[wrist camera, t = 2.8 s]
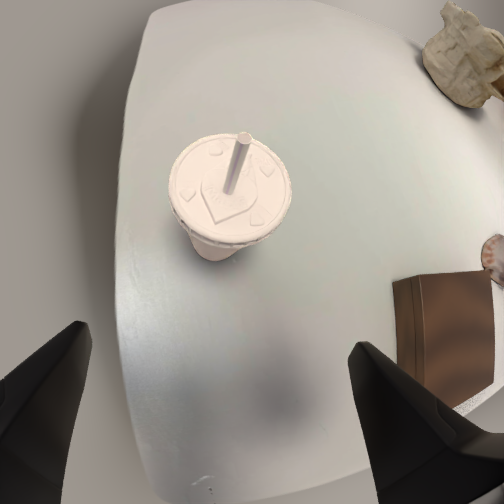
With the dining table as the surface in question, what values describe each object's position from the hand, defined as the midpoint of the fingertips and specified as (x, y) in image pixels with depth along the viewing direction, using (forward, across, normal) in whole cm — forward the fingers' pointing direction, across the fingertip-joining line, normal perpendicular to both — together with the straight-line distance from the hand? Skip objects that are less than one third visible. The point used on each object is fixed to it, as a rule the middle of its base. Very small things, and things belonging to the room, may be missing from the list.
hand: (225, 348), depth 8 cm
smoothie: (+15, 0, +4) cm, 15 cm away
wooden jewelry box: (+9, -25, +10) cm, 28 cm away
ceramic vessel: (+44, -46, -26) cm, 69 cm away
